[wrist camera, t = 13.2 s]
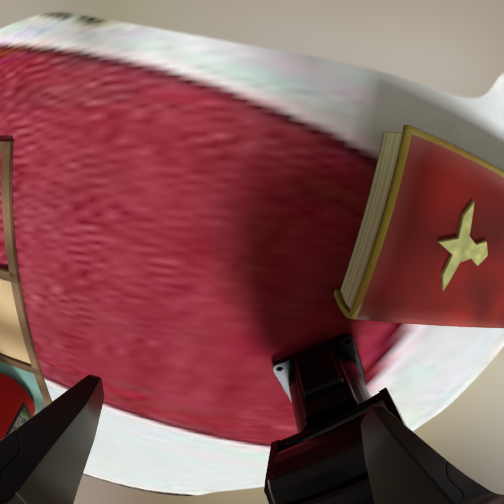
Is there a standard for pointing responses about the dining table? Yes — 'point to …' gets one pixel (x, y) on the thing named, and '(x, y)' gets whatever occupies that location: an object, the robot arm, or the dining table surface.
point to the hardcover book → (429, 238)
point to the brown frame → (16, 305)
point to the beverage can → (13, 405)
